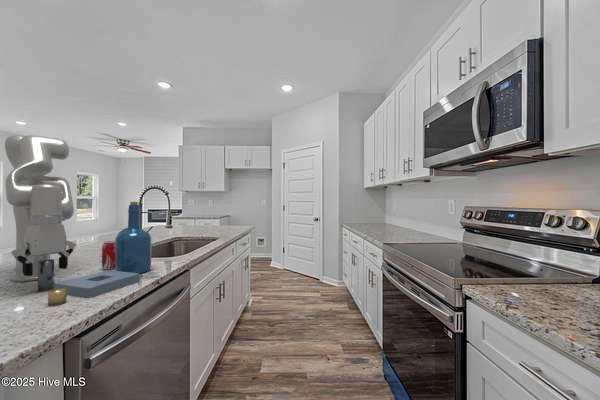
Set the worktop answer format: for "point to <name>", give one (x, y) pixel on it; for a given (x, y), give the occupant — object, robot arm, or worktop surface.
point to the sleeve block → (98, 283)
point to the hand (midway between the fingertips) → (46, 271)
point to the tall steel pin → (45, 275)
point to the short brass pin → (57, 297)
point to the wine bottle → (133, 245)
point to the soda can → (108, 255)
